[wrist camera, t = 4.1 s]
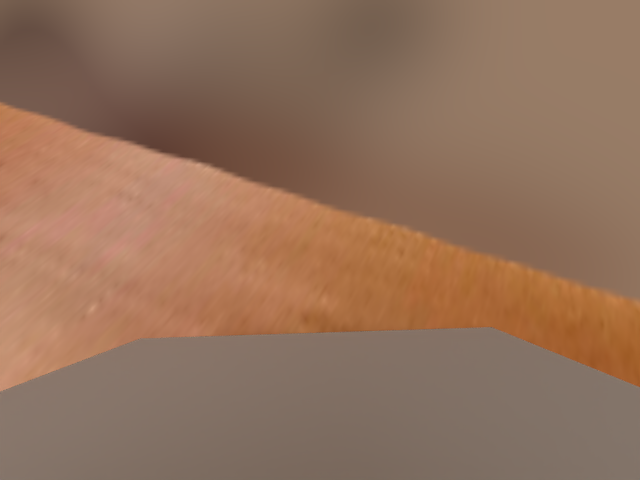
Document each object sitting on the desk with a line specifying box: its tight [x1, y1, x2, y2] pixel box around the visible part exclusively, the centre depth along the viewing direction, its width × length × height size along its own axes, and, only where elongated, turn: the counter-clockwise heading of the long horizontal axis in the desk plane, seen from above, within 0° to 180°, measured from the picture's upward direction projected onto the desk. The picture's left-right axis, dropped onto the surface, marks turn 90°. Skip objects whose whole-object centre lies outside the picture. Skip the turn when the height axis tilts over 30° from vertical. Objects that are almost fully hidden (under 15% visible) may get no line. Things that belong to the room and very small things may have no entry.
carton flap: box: [0, 327, 640, 480], centre depth 8 cm, size 9×14×1 cm
